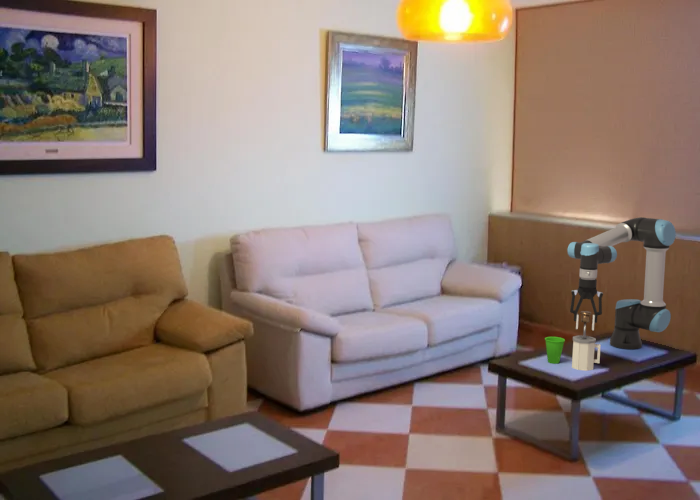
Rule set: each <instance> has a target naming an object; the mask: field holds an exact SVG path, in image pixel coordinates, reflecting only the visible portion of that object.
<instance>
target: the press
mask: <svg viewBox="0 0 700 500" xmlns="http://www.w3.org/2000/svg"><path fill="white" fill-rule="evenodd" d="M572 341H573V343H572V357H571V369H574V370H577V371H586V372H587V371H592V370H594V363H595V364H600V358H601V344H600V343H596V342H597V340H596V337H593V336H589V335H586V337H585V339H583V335H582V334H581V335H573V336H572ZM595 348H596V349H597V356H596V358H595Z"/></svg>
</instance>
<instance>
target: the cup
mask: <svg viewBox="0 0 700 500" xmlns="http://www.w3.org/2000/svg"><path fill="white" fill-rule="evenodd" d="M544 341H545V348H546V355H547V356H546V357H547V359H546V360H547V363H549V364H550V365H551V364H552V365H556V364H557V365H558V364H559V363H560V360H561V358H562V357H561V356H562V354H563V353H562V352H563V349H564V344H565V342H566V340H565V338H563V337H558V336H547V337H544Z"/></svg>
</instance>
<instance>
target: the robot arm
mask: <svg viewBox="0 0 700 500" xmlns="http://www.w3.org/2000/svg"><path fill="white" fill-rule="evenodd" d="M676 236H677V235H676V228H675V225H674V224H673V223H672V222H671V221H670V220H666V219H662V218H661V219H660V218H652V217H644V216H643V217H642V216H641V217H640V216H639V217H634V218H630V219H628V220H624V221H622V222H619V223H617V224H616V226H615V227H614V228H611V229H608V230H607V231H604V232H602V233H599V234H597V235H595V236H592V237H590V238H588V239H586V240H583V241H581V242H578V241H571V242H570V243H569V244H568V247H567V256H568V257H569V258H572V259H575V260H580V261H579V262H580V263H579V264H580V265H579V278H578V287H577V289H574V290H573V289H572V290H571V303H570V307H569V308H570V309H569V310H570V311H569V312H570V313H571V314H573V321H574V322H576V323H575V330H578V328H579V313H578V312H579V310H580V307H581V305H582V303H583V300H586V299H587V300H590V303H591V306H592V307H591V308H592V310H593V314H592V320H591V321H592V324H591V330H592V331H595V324H597V323H598V316H601V315H602V314H603V305H602V303H603V302H602V301H603V299H602V298H603V296H604V293H603V292H602V291H598V289H597V283H598V282H597V278H598V265H600V264H609V263H614V262H615V260H617V257H618V253H617V252H618V251H617V250H616V248H615V247H614V246H616V245H618V244H620V243H629V242H632V241H634V242H635V241H636V242H642V244H643V245H642V246H643V247H642V248H644V249H645V250H646V253H645V256H646V257H645V272H644V273H645V274H644V288H643V289H644V290H643V300H640V299H631V298H629V299H627V298H626V299H620V300H617V301H616V303H615V312H614V313H615V315H614V327H613V332H612V334H611V337H610V339H609V345H610V346H612V347H614V348H618V349H624V350H638V349H641V348H642V347H643V345H642V344H643V341H642V340H641V336H640V335H641V334H640V329H642V330H646V331H650V332H652V333H653V332H655V333H661V332H663V331H665V330H666V329H667V327H668V326H669V325H670V323H671V316H672V315H671V311H670V310H669V309H667V303H665V301H664V286H665V285H664V284H665V269H666V268H665V267H666V252H667V251H668V250H669V249H670V246H672V245H673V244H674V243H675V239H676ZM577 294H578V295H579V299H578V301H577V304H576V306H575V299H576V296H577ZM596 295H597V297H598V310H597V308H596V302H595V300H594V297H595V296H596ZM574 307H575V309H574Z"/></svg>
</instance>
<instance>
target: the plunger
mask: <svg viewBox="0 0 700 500" xmlns="http://www.w3.org/2000/svg"><path fill="white" fill-rule="evenodd" d="M580 314H581V320H580V322H581V323H583V334H582V336H583V339H585V337H586V336H587V323H590V321H591V319H590V317H591V315H592V312H591V311H588V310H581V311H580Z"/></svg>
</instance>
